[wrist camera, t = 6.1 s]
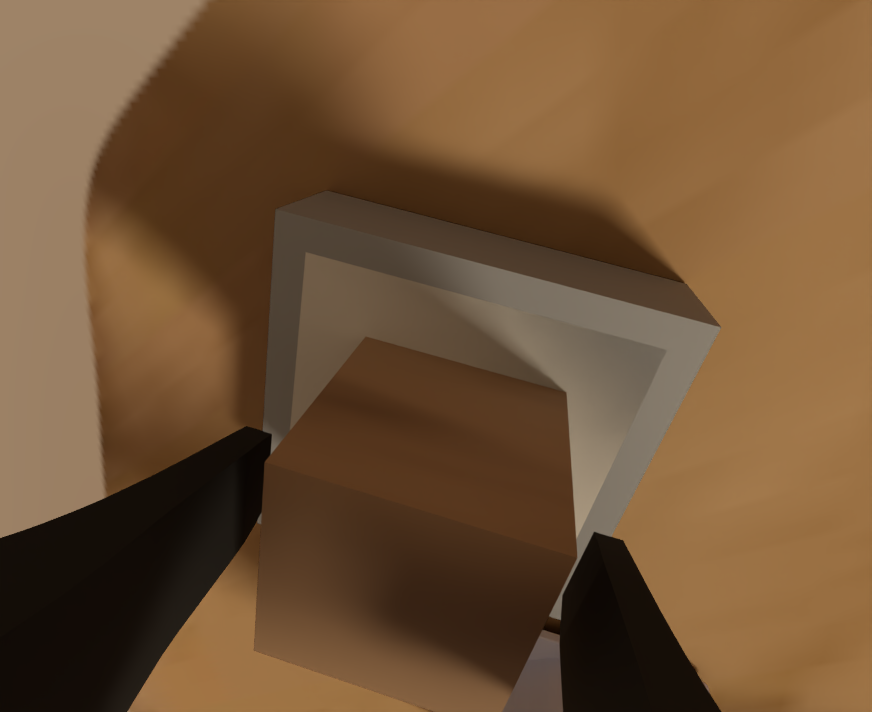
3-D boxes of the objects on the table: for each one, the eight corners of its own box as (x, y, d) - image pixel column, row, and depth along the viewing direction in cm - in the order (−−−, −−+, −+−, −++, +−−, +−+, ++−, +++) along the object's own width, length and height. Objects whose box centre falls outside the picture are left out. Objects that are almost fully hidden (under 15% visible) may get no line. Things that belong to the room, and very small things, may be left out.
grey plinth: (563, 546, 18) (566, 622, 15) (298, 464, 19) (257, 523, 16) (686, 283, 13) (720, 327, 11) (326, 190, 14) (275, 209, 11)
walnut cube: (509, 539, 14) (492, 731, 10) (342, 487, 15) (253, 650, 10) (566, 392, 12) (577, 557, 8) (365, 336, 12) (264, 462, 8)
